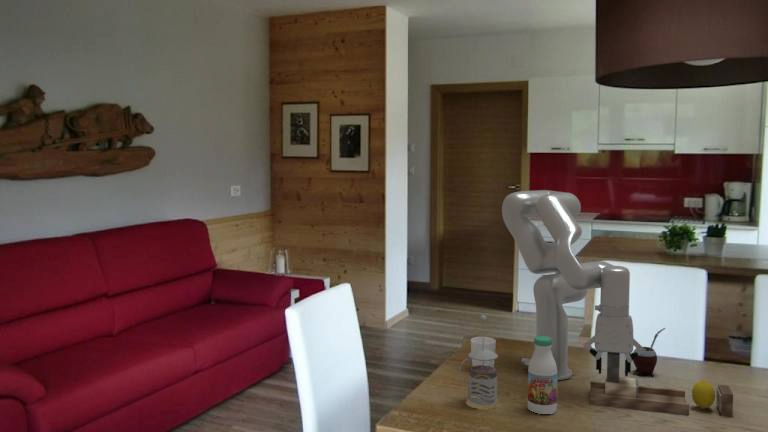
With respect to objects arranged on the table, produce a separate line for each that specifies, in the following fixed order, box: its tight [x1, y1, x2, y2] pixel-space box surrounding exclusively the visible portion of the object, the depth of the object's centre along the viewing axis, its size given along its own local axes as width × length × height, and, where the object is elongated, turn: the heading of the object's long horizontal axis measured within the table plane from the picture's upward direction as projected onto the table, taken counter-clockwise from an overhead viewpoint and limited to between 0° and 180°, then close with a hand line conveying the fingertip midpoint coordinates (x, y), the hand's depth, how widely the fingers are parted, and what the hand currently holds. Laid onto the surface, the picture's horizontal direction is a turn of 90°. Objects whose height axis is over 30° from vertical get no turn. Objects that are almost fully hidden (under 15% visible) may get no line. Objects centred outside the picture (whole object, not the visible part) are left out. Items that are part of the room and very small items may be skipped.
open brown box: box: [715, 384, 734, 418], centre depth 172 cm, size 3×7×6 cm, turn 161°
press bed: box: [589, 380, 690, 416], centre depth 179 cm, size 25×11×3 cm, turn 71°
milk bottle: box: [527, 336, 558, 415], centre depth 174 cm, size 8×8×20 cm
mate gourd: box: [632, 327, 666, 378], centre depth 202 cm, size 8×8×15 cm
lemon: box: [691, 379, 716, 410], centre depth 174 cm, size 6×6×8 cm
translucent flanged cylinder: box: [470, 336, 497, 368], centre depth 207 cm, size 8×8×10 cm
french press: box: [458, 314, 499, 405], centre depth 179 cm, size 10×12×25 cm
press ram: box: [604, 352, 640, 398], centre depth 180 cm, size 9×7×12 cm
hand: (613, 373), depth 181 cm, fingers open, 6 cm apart
